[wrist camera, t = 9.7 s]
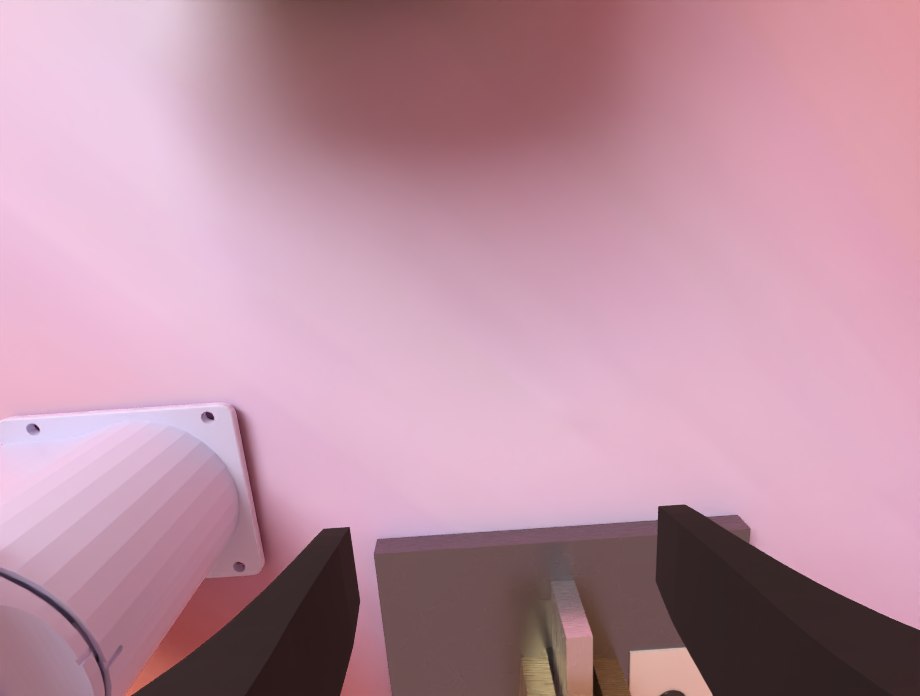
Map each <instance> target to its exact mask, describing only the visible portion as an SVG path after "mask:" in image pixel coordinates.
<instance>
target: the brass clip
mask: <svg viewBox="0 0 920 696" xmlns="http://www.w3.org/2000/svg"><path fill="white" fill-rule="evenodd" d="M519 696H556V694H555V689H554V685H553V680H552V675H551V671H550V666H549V661H548V658H521V672H520V686H519ZM593 696H631V693H630V690H629V688H628V685H627V682H626V680H625V677H624V674H623V672H622V669H621V666H620V664H619V661H618V658H593Z"/></svg>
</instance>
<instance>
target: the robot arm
mask: <svg viewBox="0 0 920 696" xmlns="http://www.w3.org/2000/svg"><path fill="white" fill-rule="evenodd" d="M206 412H210V413H212V414H213V416H214V420H210V419H209V418H207V416H206ZM34 424H35V425H37V426H38V427H39V429H40V431H38V430H37V429H36V428H35V426H34ZM0 443H1V446H0V696H125V695H126V693H127V692H128V690H129V689H130V687H131V686H132V684H133V683H134V681H135V680H136V678H137V677H138V675H139V674H140V673H141V671H142V670H143V668H144V667H145V665H146V664H147V662H148V661H149V659H150V658H151V656H152V655H153V653H154V652H155V650H156V649H157V648H158V646H159V645H160V643H161V642H162V640H163V639H164V637H165V636H166V634H167V633H168V631H169V630H170V628H171V627H172V626H173V624H174V623H175V621H176V620H177V618H178V617H179V615H180V614H181V612H182V611H183V609H184V608H185V606H186V605H187V604H188V602H189V601H190V599H191V598H192V596H193V595H194V593H195V592H196V590H197V589H198V587H199V586H200V584H201V583H202V581H203V580H204V579H206V578H221V577H235V576H250V575H256V574H258V573H260V572H261V570H262V568H263V566H264V564H265V558H264V553H263V548H262V543H261V538H260V533H259V528H258V522H257V517H256V512H255V507H254V502H253V497H252V492H251V486H250V481H249V476H248V471H247V466H246V461H245V456H244V450H243V445H242V440H241V435H240V430H239V425H238V420H237V415H236V411H235V409H234V408H233V406H232V405H230V404H228V403H225V402H215V403H200V404H186V405H171V406H156V407H142V408H127V409H112V410H98V411H83V412H68V413H54V414H39V415H24V416H11V417H8V418H5V419H3V420H1V421H0ZM237 562H241V563H243V564H244V565H245V566H240V565H239V564H238V563H237ZM656 584H657V586H658V589H659V591H660V594H661V596H662V599H663V601H664V604H665V606H666V609H667V611H668V613H669V616H670V618H671V620H672V623H673V625H674V627H675V629H676V630H677V632H678V634H679V636H680V638H681V640H682V641H683V643H684V645H685V647H686V649H687V650H688V652H689V654H690V656H691V658H692V659H693V661H694V663H695V665H696V666H697V668H698V670H699V672H700V674H701V675H702V677H703V679H704V681H705V682H706V684H707V686H708V688H709V690H710V691H711V693H712V695H713V696H920V630H918V629H916V628H913V627H911V626H908V625H906V624H903V623H901V622H899V621H896V620H894V619H892V618H889V617H887V616H885V615H883V614H880V613H878V612H876V611H874V610H872V609H870V608H867V607H865V606H863V605H861V604H859V603H857V602H855V601H853V600H851V599H848V598H846V597H844V596H842V595H840V594H838V593H836V592H834V591H832V590H830V589H828V588H826V587H824V586H822V585H820V584H819V583H817V582H815V581H813V580H811V579H809V578H808V577H806V576H804V575H802V574H800V573H798V572H797V571H795V570H793V569H791V568H789V567H788V566H786V565H784V564H782V563H781V562H779V561H777V560H775V559H774V558H772V557H770V556H769V555H767V554H765V553H764V552H762V551H760V550H759V549H757V548H755V547H754V546H752V545H750V544H749V543H747V542H746V541H744V540H742V539H741V538H739V537H737V536H736V535H734V534H733V533H731V532H729V531H728V530H726V529H725V528H723V527H721V526H720V525H718V524H717V523H715V522H714V521H712V520H710V519H709V518H707V517H705V516H704V515H702V514H701V513H699V512H697V511H695V510H694V509H692V508H690V507H688V506H687V505H671V506H658V530H657V555H656ZM359 605H360V597H359V590H358V583H357V576H356V569H355V562H354V555H353V548H352V541H351V533H350V527H344V528H330V529H323V530H322V531H321V532H320V533H319V534H318V535H317V536H316V537H315V538H314V539H313V540H312V541H311V542H310V544H309V545H308V546H307V547H306V548H305V549H304V550H303V551H302V552H301V553H300V554H299V555H298V556H297V557H296V558H295V559H294V560H293V561H292V563H291V564H290V565H289V566H288V567H287V568H286V569H285V570H284V571H283V572H282V573H281V574H280V575H279V576H278V577H277V578H276V579H275V580H274V581H273V582H272V583H271V584H270V585H269V586H268V587H267V588H266V589H265V590H264V591H263V592H262V593H261V594H260V595H258V596H257V597H256V598H255V599H254V600H253V601H252V602H251V603H250V604H249V605H248V606H247V607H246V608H244V609H243V610H242V611H241V612H240V613H239V614H238V615H237V616H236V617H235V618H234V619H233V620H231V621H230V622H229V623H228V624H227V625H226V626H224V627H223V628H222V629H221V630H220V631H219V632H217V633H216V634H215V635H214V636H213V637H211V638H210V639H209V640H207V641H206V642H205V643H204V644H202V645H201V646H200V647H199V648H197V649H196V650H195V651H194V652H192V653H191V654H190V655H188V656H187V657H186V658H184V659H183V660H182V661H180V662H179V663H178V664H176V665H175V666H173V667H172V668H170V669H169V670H167V671H166V672H165V673H163V674H162V675H160V676H159V677H157V678H156V679H155V680H153V681H152V682H150V683H149V684H147V685H146V686H145V687H143V688H142V689H140V690H139V691H137V692H136V693H135V694H133V695H131V696H340V693H341V690H342V686H343V682H344V679H345V675H346V671H347V667H348V664H349V660H350V656H351V652H352V649H353V644H354V638H355V632H356V626H357V619H358V612H359Z"/></svg>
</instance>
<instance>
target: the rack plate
mask: <svg viewBox="0 0 920 696" xmlns="http://www.w3.org/2000/svg"><path fill="white" fill-rule="evenodd" d="M707 518H709V519H710V520H712V521H714V522H715V523H717V524H718V525H720V526H721V527H723V528H725V529H726V530H728V531H729V532H731V533H733V534H734V535H736V536H737V537H739V538H741V539H742V540H744V541H746V542H747V543H749V539H750V528H749V527H748V526H747V525H746V523H745V522H744V521H743V520H742V519H741V518H740V517H739V516H738V515H731V516H716V517H707ZM657 530H658V520H657V521H642V522H627V523H612V524H597V525H583V526H568V527H553V528H538V529H523V530H508V531H493V532H479V533H464V534H449V535H434V536H419V537H404V538H389V539H377V543H376V547H375V551H374V559H375V566H376V574H377V582H378V590H379V597H380V605H381V613H382V621H383V628H384V636H385V644H386V652H387V660H388V667H389V675H390V683H391V691H392V696H519V686H520V672H521V658H548V661H549V666H550V671H551V675H552V680H553V685H554V689H555V694H556V696H593V658H618V661H619V664H620V666H621V669H622V672H623V674H624V677H625V680H626V682H627V685H628V688H629V690H630V693H631V696H713V695H712V693H711V691H710V690H709V688H708V686H707V684H706V682H705V681H704V679H703V677H702V675H701V674H700V672H699V670H698V668H697V666H696V665H695V663H694V661H693V659H692V658H691V656H690V654H689V652H688V650H687V649H686V647H685V645H684V643H683V641H682V640H681V638H680V636H679V634H678V632H677V630H676V629H675V627H674V625H673V623H672V620H671V618H670V616H669V613H668V611H667V609H666V606H665V604H664V601H663V599H662V596H661V594H660V591H659V589H658V586H657V584H656V555H657Z"/></svg>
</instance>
